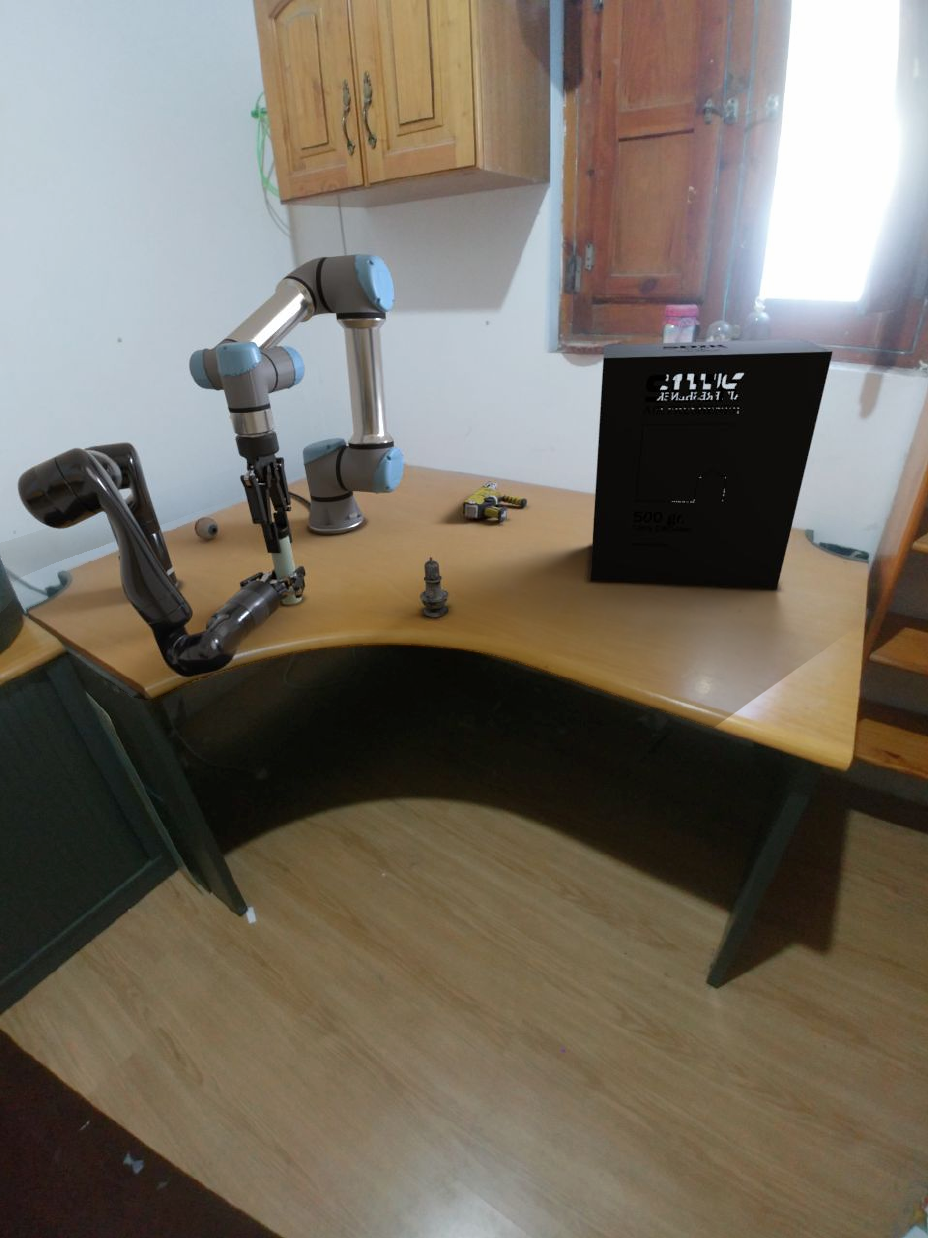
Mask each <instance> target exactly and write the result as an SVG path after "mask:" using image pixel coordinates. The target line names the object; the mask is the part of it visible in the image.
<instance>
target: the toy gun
mask: <svg viewBox="0 0 928 1238" xmlns="http://www.w3.org/2000/svg"><path fill="white" fill-rule="evenodd" d="M498 486H499V483H498V482H497V481H493V482H492V481H491V480H489V481H488V482H487V483H485V484H483V485H482V486H481V487H479V488H478V489H477V490H476V491H474V493H472V495H470V496H469V497H468V498H467V499H466V500H465V501H464V502H462V506H461V508H462V509H461V514H462V516H463V517H466V518H467V519H471V520H472V519H474V518H475V519H482V518H486V517H489V518H494V519H498V521H497V522H498V523H499V522H502V521H504V520H506V519H507V516H508V506H503V507H501V505H499V504H500V503H505V504H506V503H507V504H511V505H515V506H519V507H521V508H525V507H526V506H527V503H528V499H526V497H525V498H524V497H520V496H514V495H511V494H510V495H509V494H506V493H505V494H503V495H502V496H501V493H500V492H499V491H498V489H499V487H498Z"/></svg>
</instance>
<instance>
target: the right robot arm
mask: <svg viewBox="0 0 928 1238" xmlns="http://www.w3.org/2000/svg"><path fill="white" fill-rule="evenodd" d="M394 301H395V289H394V283H393V279H392V275H391V272H390V270H389V269H388V267H387V265H386V263H385V262H384V261H383V259H381V257H379V256H378V255H376V254H367V253H366V254H364V253H356V254H347V255H336V256H335V255H334V256H321V257H320V256H319V257H317V258H312V259H311V260H309V261H307V262H304V263H303V264H301V265H300V266H298V267H296V268H295V269H293V270H292V271H291V272H289V273H288V274H287V275H286V276H284V277H283V278H282V279H281V280H280V281H279V282H278V283H277V284H276V287H275V289H274V293H273V294H272V295H271V296H270V297H269V298H268V299H267V300H266V301H264V302H263V303H262V304H261V305H260V306H259V307H258V308H257V309H256V310H254V311H253V312H252V313H251V314H250V315H249V316H248V317H246V319H244V320H243V321H242V322H241V323H240V324H239V325H238V326H237V327H236V328H234V330H232V331H231V332H230V333H229V334H228V335H227V336H226V337H224V338H223V339H222V340H221V341H220V342H218V344H216V345H215V346H214V347H212V348H203V349H197V350H195V351H194V352H192V354H191V355H190V358H189V360H188V361H189V362H188V368H189V372H190V373H189V374H190V376H191V378H192V380H193V381H194V383H195V384H196V385H197V386H198V387H200V388H202V389H205V390H213V391H223V392H224V396H225V400H226V404H227V409H228V413H229V419H230V421H231V426H232V430H233V433H234V434H236V436H235V437H234V438H235V443H236V448H237V452H238V455H239V456H240V457H242V458H243V459H245V460H246V470H247V472H246V474H241V475H240V476H239V479H240V482H241V484H242V486H243V488H244V492H245V497H246V500H247V504H248V508H249V513H250V516H251V517H250V518H251V521H252V523H253V525H260V526H261V531H262V535H263V539H264V544H265V548H266V551H267V554H271V553H281V552H282V551H281V547H280V542H279V538H278V533H277V529H276V523H284V524H287V526H288V529H289V535H288V536H289V540H290V544H292V543H293V542H294V541H293V537H292V532H291V527H290V521H289V518H288V513H287V512H291V511H292V506H291V504H292V501H291V496H292V497H295V498H297V499H299V500H300V501H303V502H304V503H305V504H307V505H308V506H309V513H308V521H307V522H308V523H307V524H308V528H309V529H308V530H310V531H311V532H312V533H314V534H317V535H323V536H324V535H325V536H327V535H329V536H331V535H339V534H340V535H341V534H345V533H350V532H353V531H355V530H357V529H359V528H361V527H362V526H363V525H364V523H365V519H364V514H363V512H362V510H361V508H360V505H359V504H358V501H357V500H356V498H355V495H354V492H359V493H371V494H372V493H374V494H376V495H377V494H390V493H392V492H394V491H395V490H396V489H397V488H398V486H399V485H400V483H401V481H402V478H403V474H404V466H405V459H404V454H403V450H401V449H400V448H398V446H395V441H394V439H395V438H394V437H393V436H392V435H391V434H389V433H388V422H387V421H388V420H387V407H386V395H385V394H386V392H385V379H384V365H383V364H384V363H383V351H382V335H381V334H382V333H381V328H382V327H383V325H384V324H385V323H386V322H387V313H388V312H389V311H391V310H392V309H393V307H394ZM326 314H335V317H336V322H337V323H338V324H339V326H340V327H342V330H343V334H344V346H345V356H346V357H345V358H346V368H347V378H348V391H349V400H350V411H351V423H352V434H351V436H350V437H349V438H348V440H347V441H346V439H345V438H342V437H334V438H328V439H323V440H320V441H319V440H318V441H316V442H313V443H309V444H308V445H306V446H305V447H304V448H303V450H302V457H303V458H302V460H303V467H304V471H305V477H306V481H307V486H308V492H309V498H310V501H308V500H307V499H306V498H304V497H303V496H300V495H298V494H297V493H294V492H291V491H289V485H288V480H287V476H286V470H285V458H284V457H281V456H278V457H277V456H276V454H277V453H278V452H279V451H280V445H279V439H278V434H277V432H276V431H275V429H276V424H275V422H274V416H273V411H272V406H271V402H270V396H269V394H272V393H276V392H280V391H283V390H286V389H288V390H289V389H291V388H293V387H295V386H297V385H298V384H300V383H301V382H302V380H303V379H304V377H305V372H306V367H305V363H304V360H303V357H302V355H301V354H300V353H299V352H298V351H297V350H296V349H295V348H293V347H292V346H287V345H284V346H283V345H280V346H278V345H279V344H280V343H281V342H282V340H284V339H285V338H286V337H287V336H288V335H289V334H290V333H291V332H292V331H293V330H294V329H295V328H296V327H297V326H298V325H299V324H300V323H306V322H308V321H310V320H311V318H313V317H314V316H318V315H326ZM271 505H272V506H273V510H274V512H273V513H272V507H271ZM272 516H273V517H272ZM273 520H274V521H273Z"/></svg>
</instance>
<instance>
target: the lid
mask: <svg viewBox="0 0 928 1238" xmlns="http://www.w3.org/2000/svg"><path fill="white" fill-rule="evenodd" d="M276 529H277V533H278V538H279V539H282V538H285V537H287V536H288V535H289V529H288V526H287V524H284V523H276Z"/></svg>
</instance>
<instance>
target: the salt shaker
mask: <svg viewBox="0 0 928 1238" xmlns="http://www.w3.org/2000/svg"><path fill="white" fill-rule="evenodd" d="M423 567H424V577H423V581H424V582H425V590H424V591H422V592H421V593H420V594H419V599H420V600H421V603H422V605H423V606H424V608H422V614H423V615H424V616H426V617H429V618H438V617H442V616H444V615H446V614H448V612H449V607H448V606H447V605H446V603H447V602H448V598H449V595H450V594H449V592H448V591H447V590H445V589H443V588H442V582H441V581H442V579H443V577H442V575H441V574H440V564H439V562H438V561H437V560H434V559H433V557H432V556H430V557H429V559H428V561H426V562H425V563H424V566H423Z"/></svg>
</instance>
